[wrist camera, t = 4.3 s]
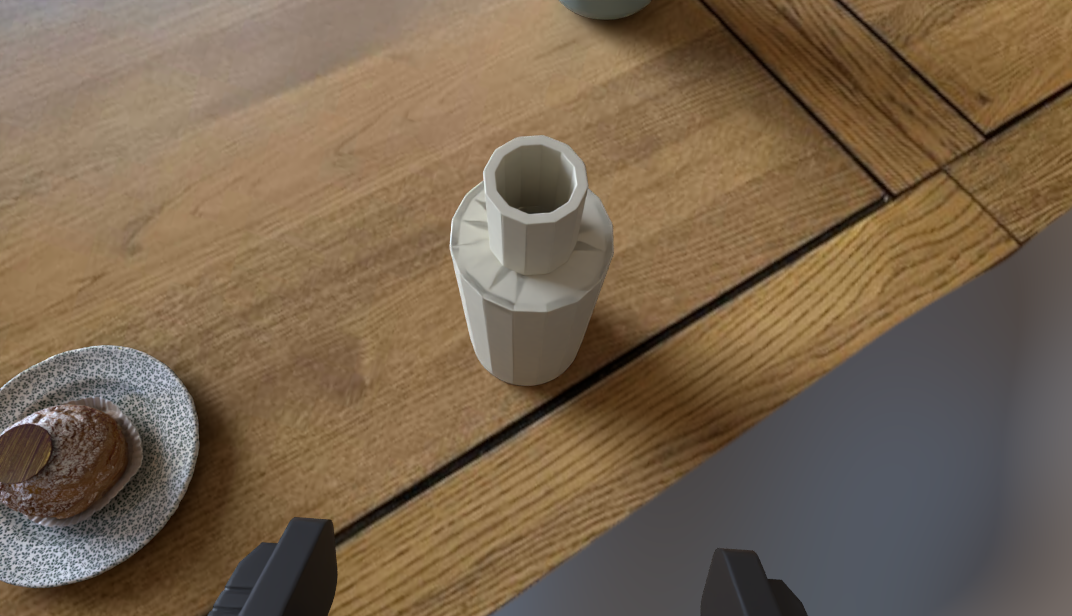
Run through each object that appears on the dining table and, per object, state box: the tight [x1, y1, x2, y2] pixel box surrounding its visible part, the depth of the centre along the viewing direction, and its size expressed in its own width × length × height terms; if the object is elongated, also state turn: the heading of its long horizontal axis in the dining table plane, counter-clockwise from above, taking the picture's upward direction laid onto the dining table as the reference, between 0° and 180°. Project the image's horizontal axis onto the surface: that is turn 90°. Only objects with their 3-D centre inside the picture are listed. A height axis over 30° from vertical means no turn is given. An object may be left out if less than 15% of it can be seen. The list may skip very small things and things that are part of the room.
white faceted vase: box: [450, 135, 614, 386], centre depth 27 cm, size 6×6×16 cm
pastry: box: [0, 345, 200, 588], centre depth 29 cm, size 12×12×5 cm
